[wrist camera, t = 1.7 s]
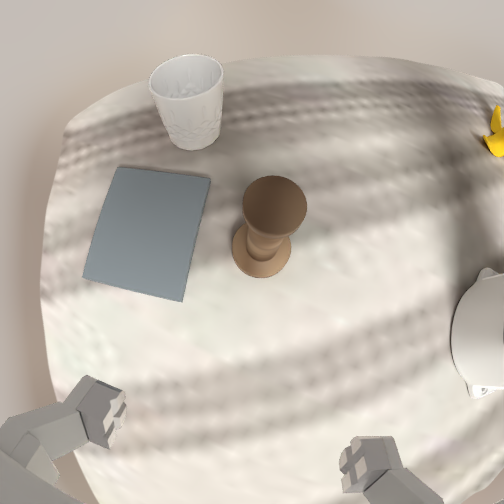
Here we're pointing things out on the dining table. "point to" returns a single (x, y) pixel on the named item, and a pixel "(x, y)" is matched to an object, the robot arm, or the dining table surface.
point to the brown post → (268, 225)
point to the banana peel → (496, 135)
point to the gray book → (147, 232)
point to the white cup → (189, 99)
